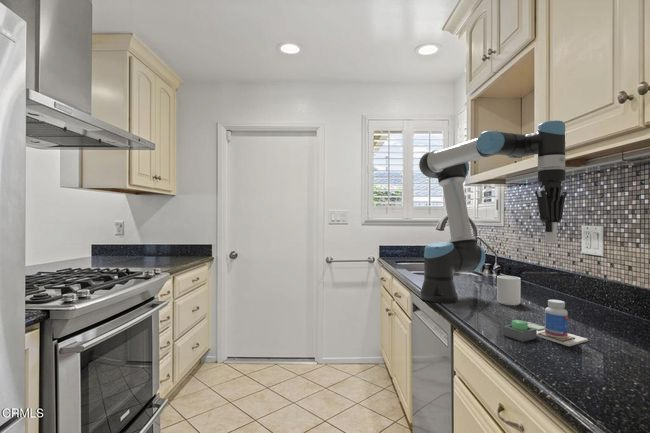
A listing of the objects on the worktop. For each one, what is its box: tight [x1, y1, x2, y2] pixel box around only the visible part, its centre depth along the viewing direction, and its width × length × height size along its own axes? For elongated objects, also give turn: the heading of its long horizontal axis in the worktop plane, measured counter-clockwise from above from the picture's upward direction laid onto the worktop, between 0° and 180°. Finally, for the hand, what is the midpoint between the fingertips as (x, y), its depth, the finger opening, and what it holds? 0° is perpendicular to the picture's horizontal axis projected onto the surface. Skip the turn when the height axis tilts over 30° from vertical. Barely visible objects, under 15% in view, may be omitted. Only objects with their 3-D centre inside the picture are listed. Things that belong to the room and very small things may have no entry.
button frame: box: [502, 323, 537, 342], centre depth 99 cm, size 6×6×3 cm
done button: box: [511, 319, 528, 331], centre depth 99 cm, size 4×4×4 cm
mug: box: [496, 275, 522, 306], centre depth 139 cm, size 12×8×10 cm
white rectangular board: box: [526, 321, 589, 347], centre depth 101 cm, size 17×9×1 cm, turn 26°
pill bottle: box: [544, 299, 569, 338], centre depth 97 cm, size 6×5×10 cm
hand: (550, 242), depth 111 cm, fingers closed
